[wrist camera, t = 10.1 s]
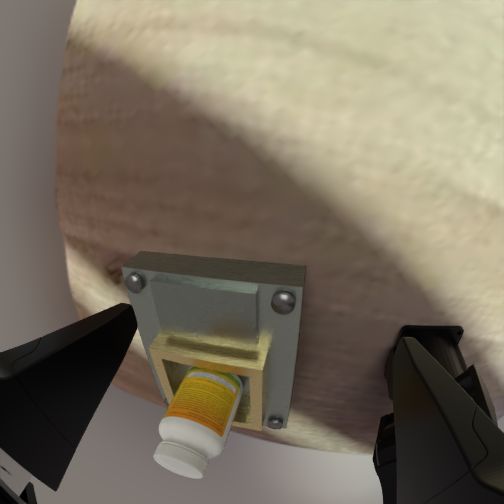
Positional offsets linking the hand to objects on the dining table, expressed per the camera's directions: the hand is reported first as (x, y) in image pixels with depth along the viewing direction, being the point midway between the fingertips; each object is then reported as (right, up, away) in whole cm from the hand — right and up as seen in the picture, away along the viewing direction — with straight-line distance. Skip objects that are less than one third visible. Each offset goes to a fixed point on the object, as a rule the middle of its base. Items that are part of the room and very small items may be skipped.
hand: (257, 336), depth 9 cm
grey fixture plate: (-3, -6, +18) cm, 19 cm away
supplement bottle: (-3, -9, +16) cm, 19 cm away
